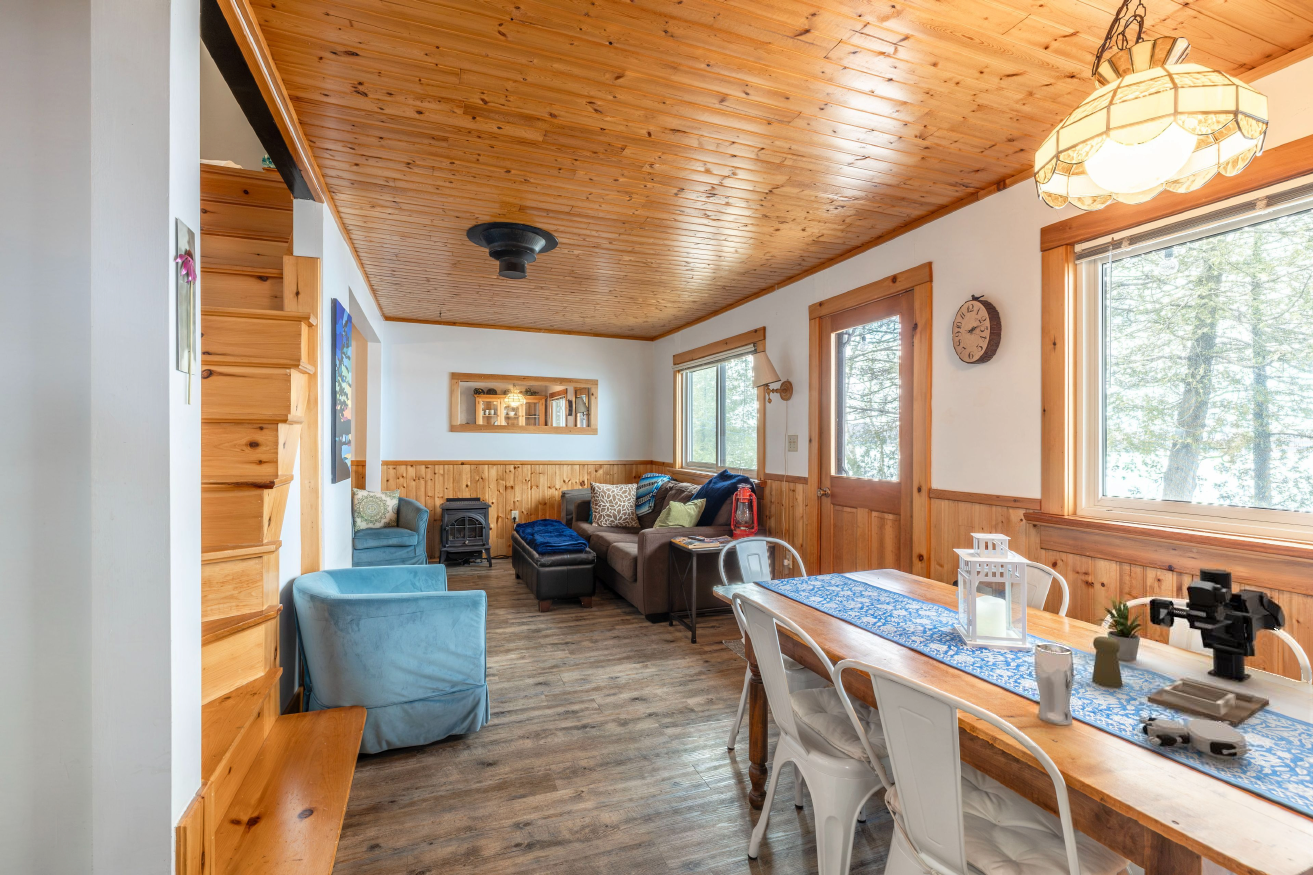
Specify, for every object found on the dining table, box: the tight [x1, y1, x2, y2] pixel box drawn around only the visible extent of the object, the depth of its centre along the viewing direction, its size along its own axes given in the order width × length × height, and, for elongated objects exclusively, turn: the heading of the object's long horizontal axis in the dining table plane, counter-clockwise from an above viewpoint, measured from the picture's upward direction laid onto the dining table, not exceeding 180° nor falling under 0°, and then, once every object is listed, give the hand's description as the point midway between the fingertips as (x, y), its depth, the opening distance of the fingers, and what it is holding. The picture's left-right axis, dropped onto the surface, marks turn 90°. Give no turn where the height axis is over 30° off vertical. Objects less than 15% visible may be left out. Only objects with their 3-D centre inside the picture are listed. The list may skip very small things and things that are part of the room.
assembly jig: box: [1147, 677, 1270, 727], centre depth 134 cm, size 20×15×4 cm
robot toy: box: [1138, 716, 1253, 761], centre depth 115 cm, size 12×4×15 cm
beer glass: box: [1033, 642, 1075, 726], centre depth 128 cm, size 7×7×15 cm
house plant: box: [1089, 596, 1150, 662], centre depth 164 cm, size 14×14×16 cm
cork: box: [1091, 635, 1124, 689], centre depth 146 cm, size 6×6×11 cm
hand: (1185, 625), depth 137 cm, fingers open, 9 cm apart
